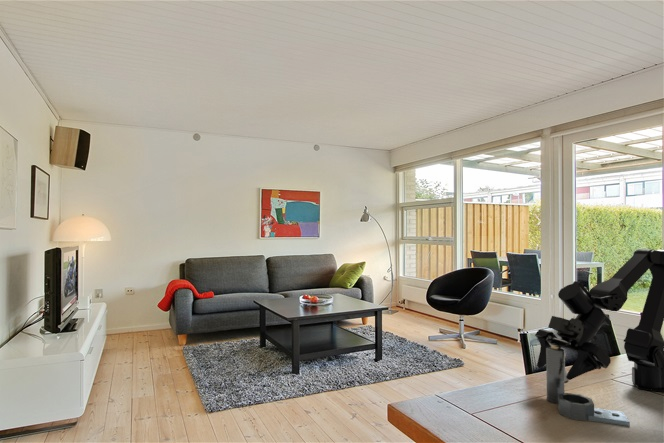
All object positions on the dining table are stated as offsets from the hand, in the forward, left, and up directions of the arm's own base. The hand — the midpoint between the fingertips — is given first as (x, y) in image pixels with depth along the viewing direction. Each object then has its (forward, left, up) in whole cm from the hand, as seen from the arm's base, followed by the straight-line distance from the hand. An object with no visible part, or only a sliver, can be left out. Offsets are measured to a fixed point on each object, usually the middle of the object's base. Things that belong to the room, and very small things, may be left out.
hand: (552, 372), depth 107 cm
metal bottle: (-1, -1, -7) cm, 7 cm away
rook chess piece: (-4, -19, -7) cm, 20 cm away
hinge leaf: (-7, +6, -7) cm, 12 cm away
